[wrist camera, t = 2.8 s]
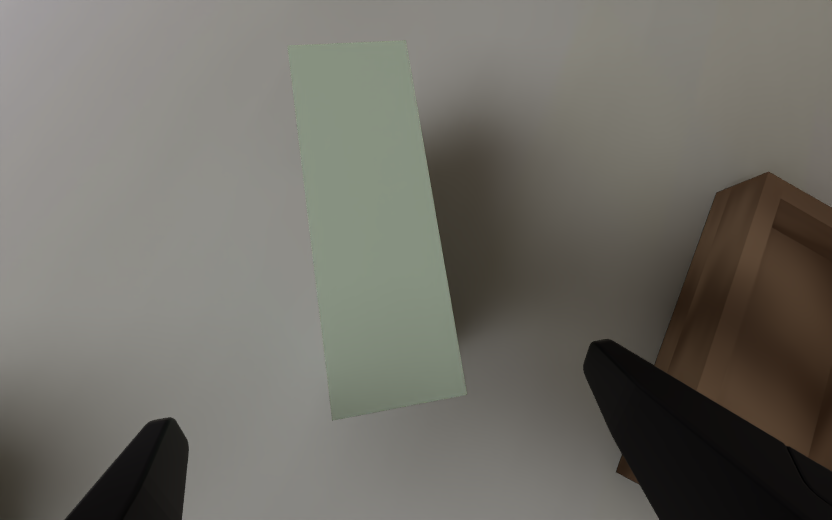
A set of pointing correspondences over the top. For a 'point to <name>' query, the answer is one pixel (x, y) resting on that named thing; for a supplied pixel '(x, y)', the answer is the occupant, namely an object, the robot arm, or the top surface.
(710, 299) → the brown wooden tray
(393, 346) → the pale green rectangular block
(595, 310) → the top surface
